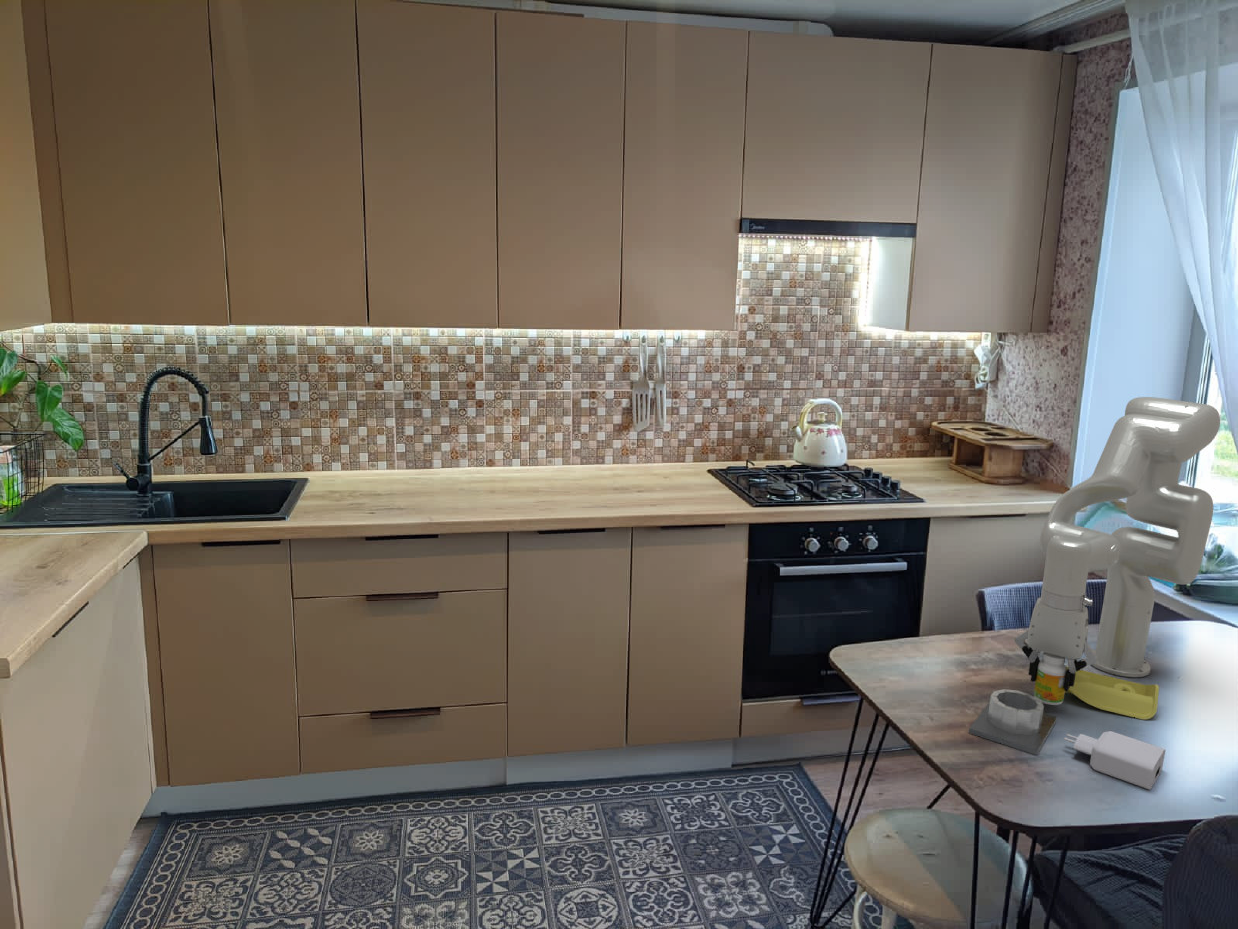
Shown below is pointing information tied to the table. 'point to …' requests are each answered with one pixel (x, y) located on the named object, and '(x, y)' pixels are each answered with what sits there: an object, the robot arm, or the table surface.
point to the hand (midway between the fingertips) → (1050, 683)
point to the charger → (1122, 757)
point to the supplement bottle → (1050, 679)
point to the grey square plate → (1014, 721)
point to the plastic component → (1116, 694)
